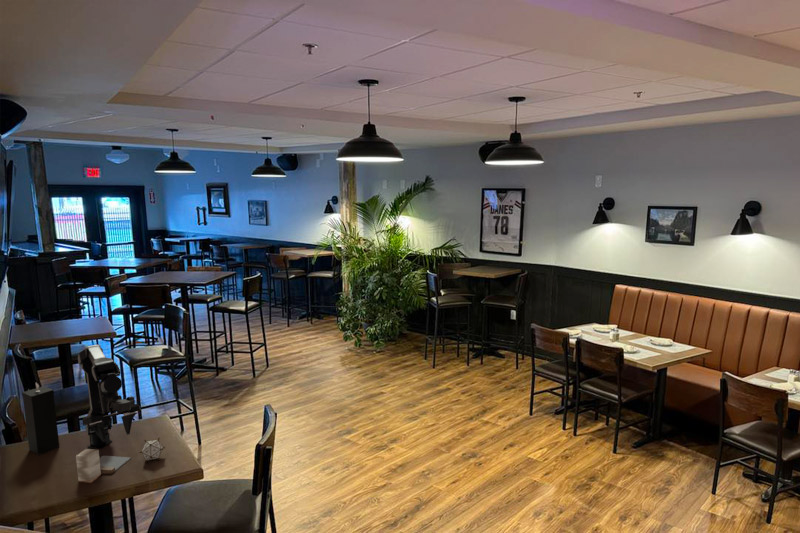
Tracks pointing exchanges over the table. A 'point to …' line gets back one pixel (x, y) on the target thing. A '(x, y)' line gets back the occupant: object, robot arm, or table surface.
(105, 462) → the mat
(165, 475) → the table surface
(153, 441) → the game die
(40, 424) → the tall black block
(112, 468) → the stop rail
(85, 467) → the marked block
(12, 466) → the table surface
